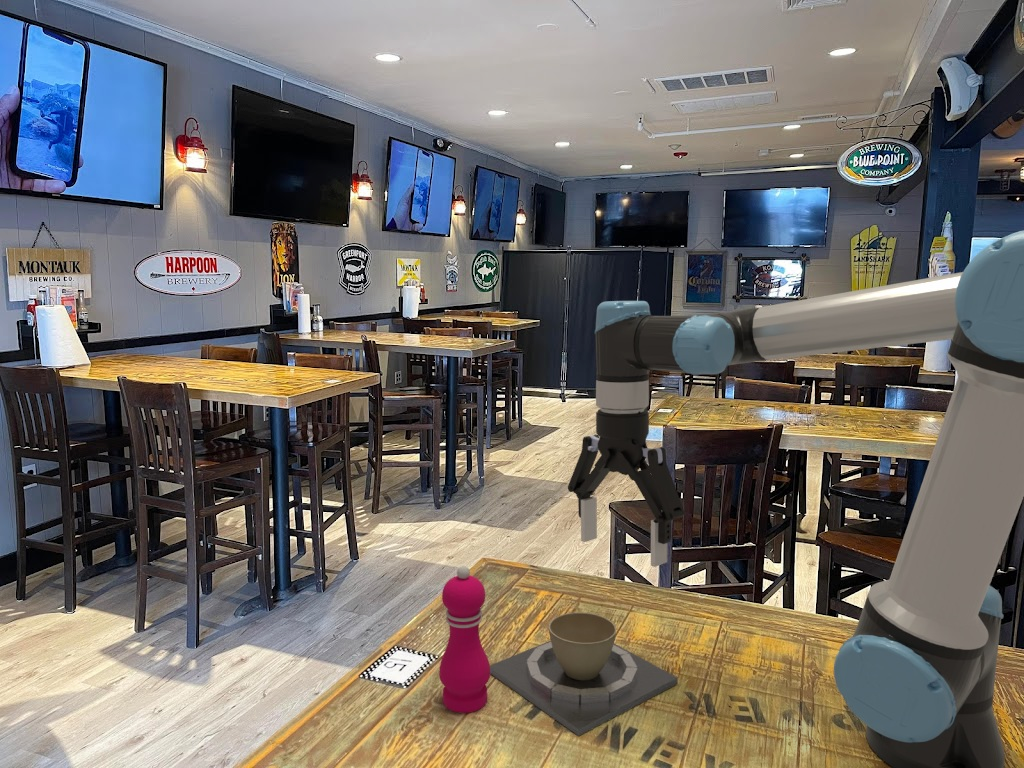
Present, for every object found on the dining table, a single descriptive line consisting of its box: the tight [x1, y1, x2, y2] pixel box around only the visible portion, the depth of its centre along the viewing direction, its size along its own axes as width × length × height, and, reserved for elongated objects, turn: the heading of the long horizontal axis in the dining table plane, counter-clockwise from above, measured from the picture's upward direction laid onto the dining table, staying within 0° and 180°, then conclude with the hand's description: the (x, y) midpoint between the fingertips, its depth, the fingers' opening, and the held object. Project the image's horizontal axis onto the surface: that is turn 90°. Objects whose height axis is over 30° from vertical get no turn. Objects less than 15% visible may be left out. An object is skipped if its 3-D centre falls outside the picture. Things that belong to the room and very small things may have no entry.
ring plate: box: [490, 640, 679, 737], centre depth 110 cm, size 20×20×2 cm
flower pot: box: [548, 611, 617, 680], centre depth 109 cm, size 10×10×7 cm
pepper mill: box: [438, 565, 491, 714], centre depth 103 cm, size 7×7×20 cm
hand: (622, 551), depth 108 cm, fingers open, 13 cm apart
